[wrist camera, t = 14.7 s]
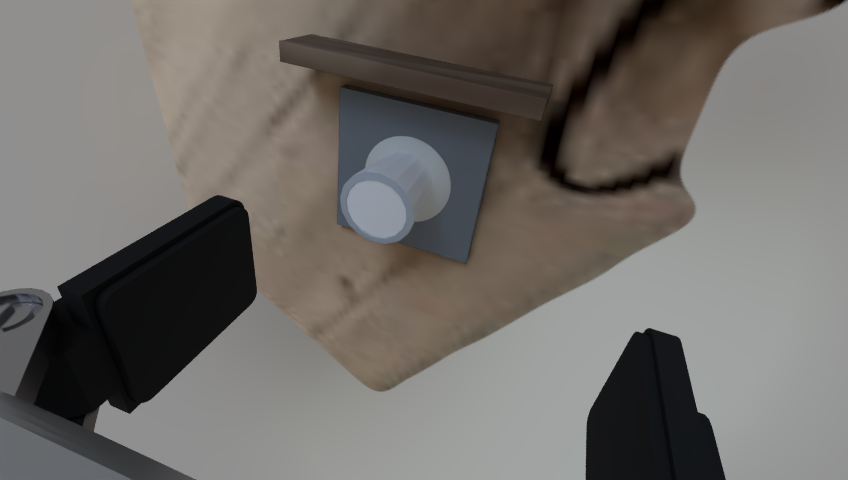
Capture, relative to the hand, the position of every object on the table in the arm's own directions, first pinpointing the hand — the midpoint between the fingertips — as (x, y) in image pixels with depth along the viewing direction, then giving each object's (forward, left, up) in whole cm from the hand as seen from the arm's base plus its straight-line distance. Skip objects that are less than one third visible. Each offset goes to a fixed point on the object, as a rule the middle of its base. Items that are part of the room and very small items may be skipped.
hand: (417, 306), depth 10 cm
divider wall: (+2, -10, -30) cm, 32 cm away
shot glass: (+12, -10, -29) cm, 33 cm away
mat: (+12, -10, -30) cm, 34 cm away
